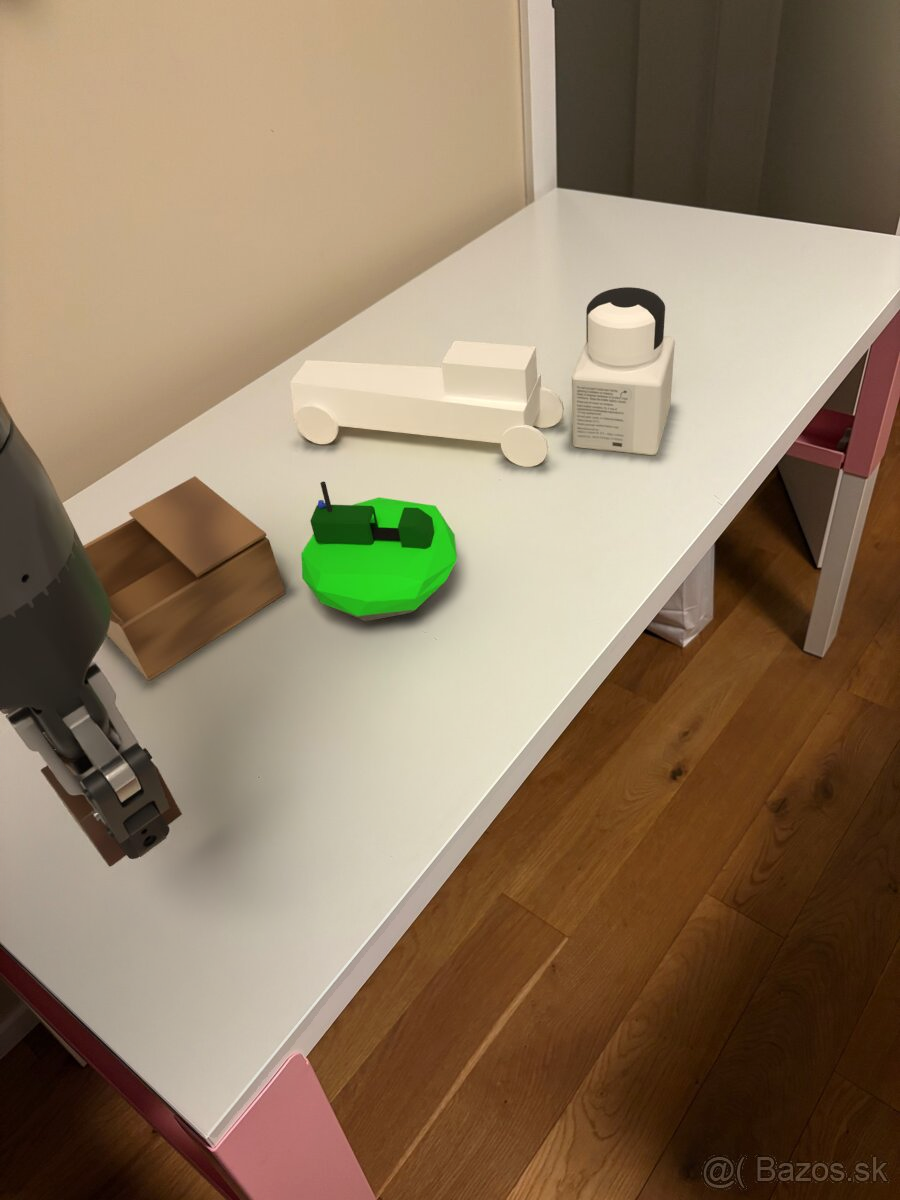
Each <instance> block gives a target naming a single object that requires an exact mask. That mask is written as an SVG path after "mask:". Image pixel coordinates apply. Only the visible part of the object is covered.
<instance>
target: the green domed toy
mask: <svg viewBox="0 0 900 1200" xmlns="http://www.w3.org/2000/svg"><path fill="white" fill-rule="evenodd" d="M320 487H321V491H322V495H323V499H319V500H318V502H317V504H316V506H315V508H314V510H313V513H312V516H311V518H310V521H309V522H310V525H311V529H312V532H313V533H312V536H311V537H310V539H309V541H308V542H307V543H306V545H305V547H304V549H303V550H302V551H301V553H300V555H301V556H300V557H301V576H302V580H303V581H304V583H305V584H306V585H307V587H308V588H309V589H310V590H311V592H312V593H313V594H314V596H315V597H316V599H317V600H318V601H319V602H320V603H321V604H322V605H325V606H327V607H330V608H332V609H334V610H337V611H340V612H342V613H345V614H347V615H349V616H352V617H354V618H357V619H359V620H361V621H364V622H368V621H369V622H370V621H375V620H379V619H385V618H391V617H395V616H396V617H397V616H401V615H407V614H411V613H413V612H414V611H416V610H417V609H418V608H419V607H420V606H422V604H423V603H424V602H425V601H427V599H429V598H430V597H431V596H432V595H433V594H434V593H435V592H436V591H437V590H438V589H439V588H441V587H442V586H443V585H444V584H445V583H446V581H447V580H448V578H449V577H450V574H451V572H452V570H453V569H454V566H455V564H456V563H457V561H458V557H457V556H458V555H457V546H456V545H457V544H456V536H455V533H454V532H453V530H452V529H451V527H450V525H449V524H448V522H447V521H446V519H445V518H444V516H443V515H442V513H441V512H440V510H439V509H438V507H437V505H433V504H426V503H419V502H413V501H408V500H407V501H406V500H400V499H398V500H397V499H394V498H393V499H392V498H386V497H376V498H372V499H368V500H364V501H360V502H357V503H354V504H331V500H330V499H331V498H330V495H329V490H328V487H327V483H326V481H321V482H320Z"/></svg>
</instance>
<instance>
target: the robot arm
mask: <svg viewBox="0 0 900 1200" xmlns="http://www.w3.org/2000/svg"><path fill="white" fill-rule="evenodd" d="M110 618H111V607H110V602H109V598H108V595H107V593H106V591H105V589H104V587H103V585H102V583H101V581H100V579H99V577H98V575H97V573H96V571H95V569H94V567H93V565H92V563H91V561H90V559H89V557H88V555H87V553H86V550H85V548H84V544H83V542H82V541H81V539H80V537H79V534H78V533H77V530H76V528H75V526H74V524H73V522H72V520H71V518H70V516H69V514H68V512H67V510H66V508H65V506H64V504H63V502H62V500H61V498H60V495H59V494H58V491H57V489H56V487H55V486H54V484H53V482H52V479H51V477H50V475H49V474H48V472H47V470H46V468H45V466H44V464H43V462H42V461H41V459H40V458H39V456H38V455H37V453H36V451H35V450H34V449H33V447H32V446H31V445H30V443H29V442H28V441H27V439H26V438H25V437H24V434H23V433H22V432H21V430H20V429H19V427H18V426H17V425H16V423H15V421H14V420H13V417H12V416H11V414H10V412H9V410H8V408H7V406H6V404H5V402H4V400H3V397H2V396H1V395H0V713H1V714H4V715H5V718H6V720H7V721H8V723H9V724H10V725H11V727H12V728H13V730H14V731H15V733H16V734H17V736H18V737H19V739H20V740H21V741H22V743H24V744H25V746H26V747H27V748H28V750H29V751H31V752H36V753H38V754H39V756H41V758H42V760H43V761H44V763H45V764H46V766H47V765H48V767H49V768H50V770H51V771H52V773H53V774H54V775H55V777H56V778H57V780H58V781H59V782H60V784H61V785H62V786H63V787H64V789H65V790H66V791H67V792H68V793H69V794H70V795H80V794H82V795H84V796H85V798H86V799H87V801H88V802H89V804H90V805H91V807H92V808H93V811H92V812H91V813H92V814H93V816H94V817H95V818H96V820H97V821H99V820H100V819H101V821H102V822H103V823H104V825H105V826H107V827H108V828H106V829H105V830H106V832H107V833H108V834H109V836H110V837H111V838H112V839H113V838H115V839H116V841H117V842H118V844H119V845H120V847H121V849H122V850H123V851H124V852H125V854H126V856H127V858H128V859H129V860H137V859H138V858H142V857H143V856H144V855H146V854H147V853H149V852H150V851H151V850H153V849H154V848H155V847H156V846H158V845H160V843H162V842H164V841H165V840H167V837H168V836H169V834H170V826H169V825H167V823H166V821H165V819H164V818H163V816H162V813H163V812H165V811H166V810H167V809H169V808H170V807H169V804H168V802H167V799H168V798H167V796H166V795H165V794H164V791H163V789H162V786H161V783H160V781H159V778H158V775H157V773H156V770H155V767H154V765H153V763H154V762H153V761H152V759H153V756H152V754H151V752H150V751H149V750H148V749H147V748H146V747H144V748H143V747H142V746H141V745H140V742H139V741H138V739H137V738H136V736H135V735H134V733H133V731H132V730H131V728H130V726H129V725H128V723H127V721H126V720H125V718H124V716H123V715H122V713H121V711H120V710H119V708H118V707H117V705H116V699H117V693H116V691H115V690H114V688H113V687H112V686H113V685H111V683H110V681H109V680H108V678H107V676H106V675H105V674H104V672H103V671H102V669H101V668H100V666H99V665H98V664H97V663H96V662H95V661H93V660H94V658H95V657H96V656H97V653H98V652H99V650H100V649H101V648H102V645H103V643H104V641H105V639H106V637H107V636H108V635H107V632H108V628H109V625H110ZM109 726H110V728H111V734H110V736H109V738H107V736H108V733H109ZM84 754H85V755H84ZM61 756H63V757H64V758H65V759H66V760H67V759H77V758H79V757H80V758H79V759H77V760H76V761H74V762H72V763H63V762H62V760H61V759H60V758H59V757H61ZM81 756H82V757H81ZM151 761H152V762H153V763H152V762H151Z"/></svg>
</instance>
